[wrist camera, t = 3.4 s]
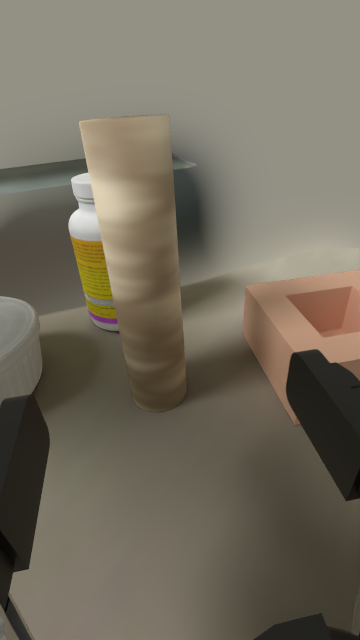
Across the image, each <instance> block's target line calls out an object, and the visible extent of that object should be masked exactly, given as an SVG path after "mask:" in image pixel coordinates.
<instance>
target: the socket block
mask: <svg viewBox="0 0 360 640" xmlns="http://www.w3.org/2000/svg"><path fill="white" fill-rule="evenodd" d="M243 336H244V337H245V339H246V341H247V343H248V344H249V346H250V348H251V350H252V351H253V353H254V355H255V357H256V358H257V360H258V362H259V364H260V365H261V367H262V369H263V371H264V372H265V374H266V376H267V378H268V379H269V381H270V383H271V385H272V386H273V388H274V390H275V392H276V393H277V395H278V397H279V399H280V400H281V402H282V404H283V406H284V407H285V409H286V411H287V413H288V414H289V416H290V418H291V420H292V421H293V423H294V425H299V424H300V422H299V420H298V418H297V417H296V415H295V413H294V412H293V410H292V408H291V407H290V405H289V402H288V400H287V396H286V382H287V376H288V370H289V364H290V358H291V355H292V353H294V352H300V351H306V350H312V349H318V350H319V351H320V352H321V353H322V354H323V355H324V356H325V357H326V359H327V360H328V361H329V362H330V363H334V362H337V363H338V364H340V365H341V366H343V367H345V368H346V369H348V370H349V371H351V372H352V373H353V374H354V375H355V376H356V377H357V378H358V380H359V381H360V270H355V271H348V272H341V273H333V274H326V275H319V276H312V277H304V278H297V279H290V280H283V281H275V282H268V283H261V284H254V285H246V286H245V303H244V320H243Z"/></svg>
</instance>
